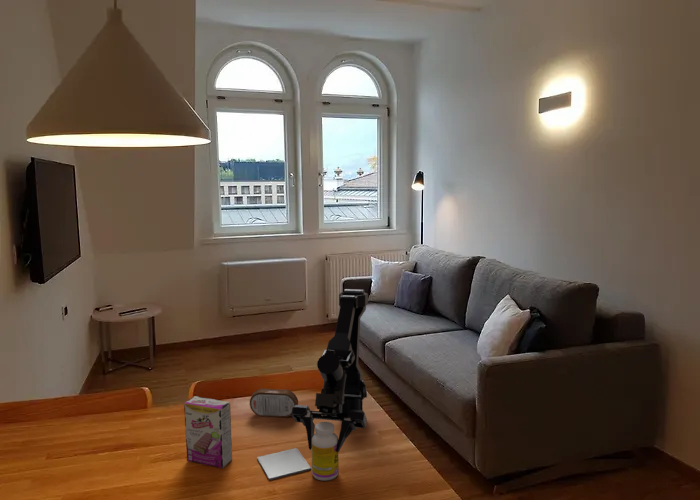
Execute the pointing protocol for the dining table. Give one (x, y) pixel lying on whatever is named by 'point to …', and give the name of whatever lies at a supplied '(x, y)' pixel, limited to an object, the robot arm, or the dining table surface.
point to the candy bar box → (208, 431)
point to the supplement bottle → (325, 452)
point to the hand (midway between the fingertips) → (323, 450)
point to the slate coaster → (283, 463)
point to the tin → (273, 402)
